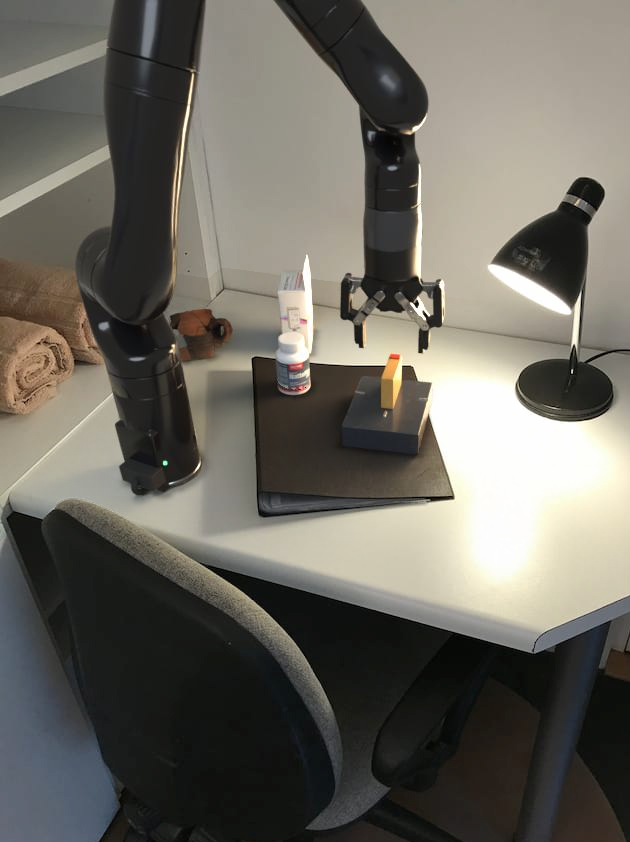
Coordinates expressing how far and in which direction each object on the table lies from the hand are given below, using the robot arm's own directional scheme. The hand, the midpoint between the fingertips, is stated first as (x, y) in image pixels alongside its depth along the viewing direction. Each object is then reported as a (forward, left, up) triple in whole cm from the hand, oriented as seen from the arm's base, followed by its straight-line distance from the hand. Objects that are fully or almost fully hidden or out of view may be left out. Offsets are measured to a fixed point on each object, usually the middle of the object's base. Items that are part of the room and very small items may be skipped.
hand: (392, 348), depth 108 cm
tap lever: (0, 0, -8) cm, 8 cm away
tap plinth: (-2, -1, -11) cm, 12 cm away
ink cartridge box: (+13, +24, -12) cm, 30 cm away
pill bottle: (0, +17, -12) cm, 21 cm away
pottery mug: (+4, +38, -12) cm, 40 cm away
